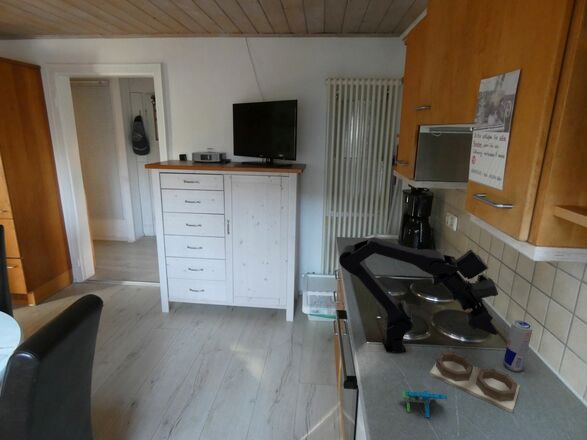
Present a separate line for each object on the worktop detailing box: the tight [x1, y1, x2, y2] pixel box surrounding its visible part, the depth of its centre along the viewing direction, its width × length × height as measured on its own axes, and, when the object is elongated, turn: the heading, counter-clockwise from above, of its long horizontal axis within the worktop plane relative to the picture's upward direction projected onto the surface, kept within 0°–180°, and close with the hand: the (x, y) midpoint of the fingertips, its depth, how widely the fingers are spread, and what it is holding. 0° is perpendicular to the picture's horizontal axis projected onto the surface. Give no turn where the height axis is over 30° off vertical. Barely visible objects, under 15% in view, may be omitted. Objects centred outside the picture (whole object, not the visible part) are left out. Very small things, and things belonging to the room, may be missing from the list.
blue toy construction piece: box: [401, 390, 448, 418], centre depth 88 cm, size 11×6×10 cm
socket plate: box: [429, 351, 521, 414], centre depth 98 cm, size 21×11×4 cm, turn 50°
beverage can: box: [503, 319, 533, 372], centre depth 102 cm, size 5×5×15 cm
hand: (492, 324), depth 102 cm, fingers open, 9 cm apart
